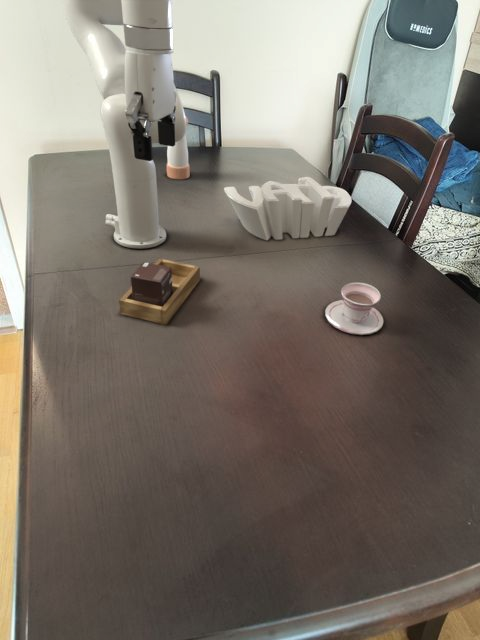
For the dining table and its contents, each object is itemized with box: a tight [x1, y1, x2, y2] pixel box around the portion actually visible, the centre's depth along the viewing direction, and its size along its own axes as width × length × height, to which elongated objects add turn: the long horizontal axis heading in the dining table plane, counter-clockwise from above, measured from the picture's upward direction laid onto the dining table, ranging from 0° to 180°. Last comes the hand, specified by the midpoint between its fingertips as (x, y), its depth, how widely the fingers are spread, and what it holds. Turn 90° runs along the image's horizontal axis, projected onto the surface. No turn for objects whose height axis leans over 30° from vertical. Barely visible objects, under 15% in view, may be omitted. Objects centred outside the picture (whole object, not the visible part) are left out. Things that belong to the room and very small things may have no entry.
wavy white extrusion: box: [223, 176, 353, 241], centre depth 123 cm, size 35×16×11 cm, turn 105°
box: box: [130, 262, 173, 307], centre depth 89 cm, size 6×6×7 cm
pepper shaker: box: [166, 116, 191, 180], centre depth 143 cm, size 7×7×19 cm
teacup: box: [324, 281, 385, 336], centre depth 92 cm, size 12×12×6 cm
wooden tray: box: [118, 257, 201, 325], centre depth 94 cm, size 9×18×3 cm, turn 165°
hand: (155, 151), depth 84 cm, fingers open, 9 cm apart
